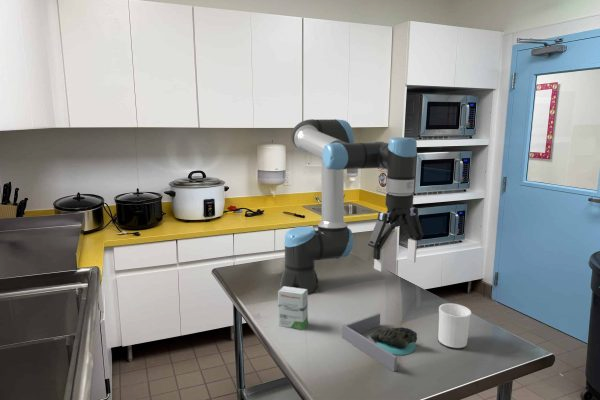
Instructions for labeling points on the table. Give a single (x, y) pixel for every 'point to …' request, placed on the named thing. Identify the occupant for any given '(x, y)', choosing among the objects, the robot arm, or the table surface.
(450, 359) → the table surface
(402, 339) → the stone
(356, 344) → the grey angle bracket
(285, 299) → the ink box
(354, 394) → the table surface
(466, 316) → the mug
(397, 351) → the teal mat
